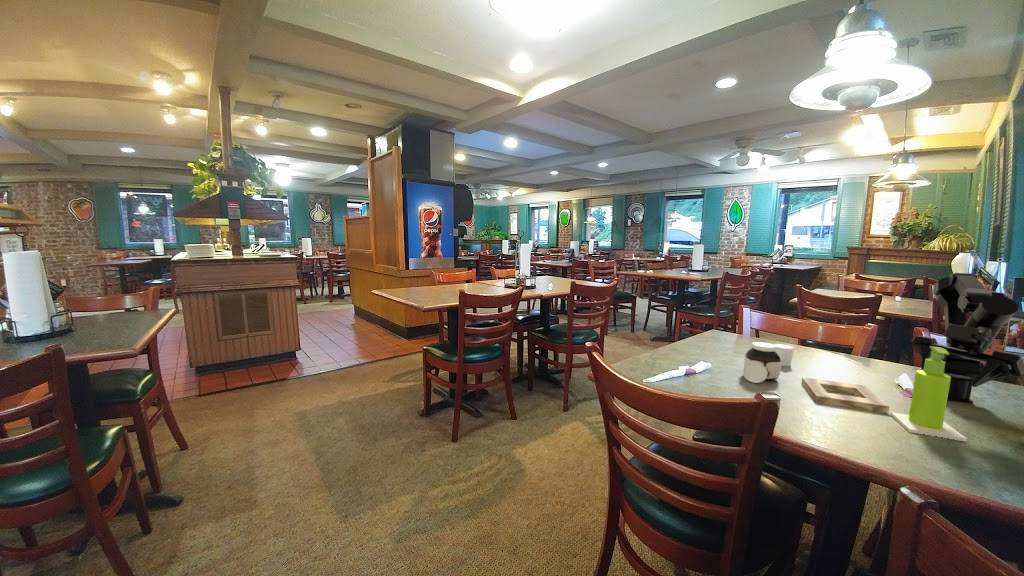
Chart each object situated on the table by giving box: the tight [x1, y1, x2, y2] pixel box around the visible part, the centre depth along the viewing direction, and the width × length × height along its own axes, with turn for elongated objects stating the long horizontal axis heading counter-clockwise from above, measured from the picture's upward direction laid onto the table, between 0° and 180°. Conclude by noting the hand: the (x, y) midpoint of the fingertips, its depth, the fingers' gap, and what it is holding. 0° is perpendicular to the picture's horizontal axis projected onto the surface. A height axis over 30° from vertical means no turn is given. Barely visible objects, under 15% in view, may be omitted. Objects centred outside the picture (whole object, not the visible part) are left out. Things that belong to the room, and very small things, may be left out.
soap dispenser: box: [908, 346, 951, 429], centre depth 94 cm, size 6×7×20 cm
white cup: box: [773, 343, 795, 367], centre depth 143 cm, size 7×7×7 cm
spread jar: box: [742, 341, 782, 384], centre depth 127 cm, size 12×11×12 cm
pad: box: [889, 411, 968, 442], centre depth 96 cm, size 10×10×1 cm
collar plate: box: [801, 376, 891, 414], centre depth 114 cm, size 16×16×2 cm
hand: (946, 379), depth 96 cm, fingers open, 9 cm apart
